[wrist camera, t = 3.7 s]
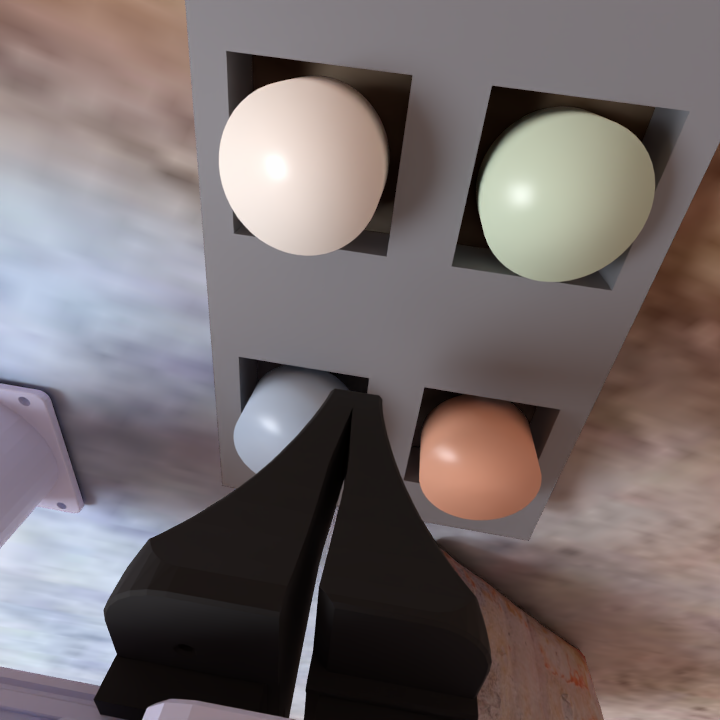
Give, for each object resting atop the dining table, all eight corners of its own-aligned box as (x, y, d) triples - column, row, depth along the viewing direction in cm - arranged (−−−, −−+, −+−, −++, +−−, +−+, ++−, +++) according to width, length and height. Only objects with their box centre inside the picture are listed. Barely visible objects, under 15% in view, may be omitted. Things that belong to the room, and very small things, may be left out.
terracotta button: (413, 465, 19) (410, 509, 17) (431, 385, 17) (430, 425, 15) (513, 482, 19) (521, 528, 17) (545, 404, 17) (558, 447, 15)
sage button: (461, 242, 15) (465, 269, 13) (495, 96, 13) (505, 104, 11) (593, 262, 15) (615, 292, 13) (650, 117, 13) (686, 129, 11)
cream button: (249, 219, 15) (223, 243, 13) (246, 66, 12) (213, 69, 11) (379, 238, 14) (371, 266, 13) (400, 86, 12) (393, 92, 10)
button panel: (238, 452, 22) (222, 485, 21) (214, -57, 12) (179, -73, 11) (521, 502, 22) (528, 540, 20) (737, 5, 12) (788, -2, 10)
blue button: (254, 438, 20) (235, 478, 18) (252, 355, 17) (231, 392, 16) (351, 454, 19) (342, 497, 18) (362, 374, 17) (353, 412, 15)
